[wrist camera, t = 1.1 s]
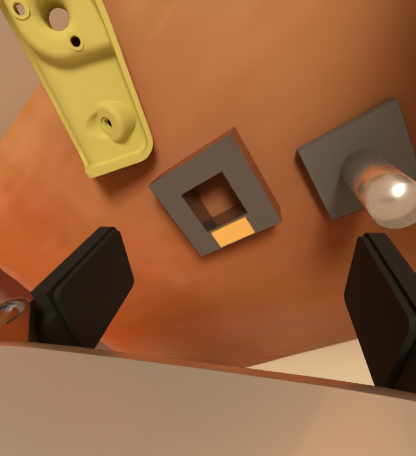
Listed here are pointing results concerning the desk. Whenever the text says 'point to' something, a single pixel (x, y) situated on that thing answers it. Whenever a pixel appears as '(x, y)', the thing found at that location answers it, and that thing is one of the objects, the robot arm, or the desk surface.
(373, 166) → the peg
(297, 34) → the desk surface
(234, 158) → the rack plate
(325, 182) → the pad
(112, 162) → the plastic component
